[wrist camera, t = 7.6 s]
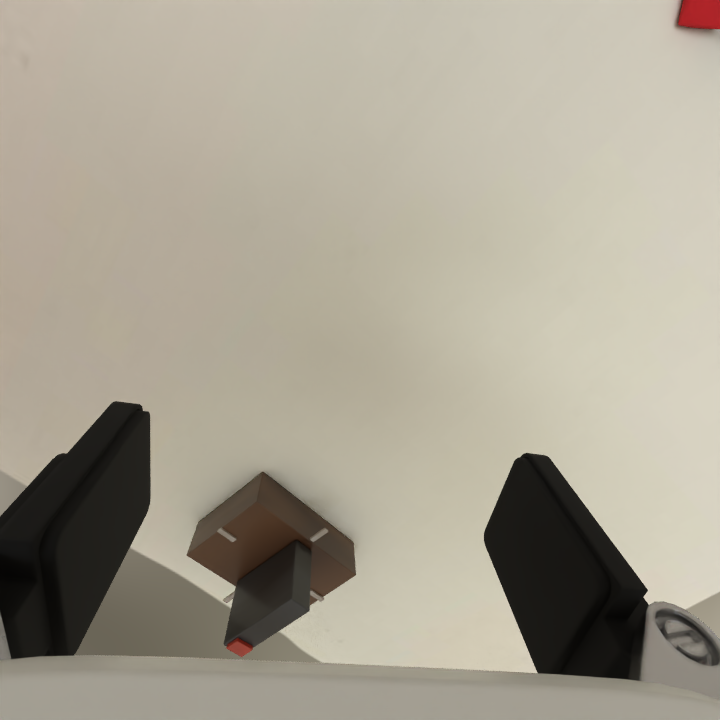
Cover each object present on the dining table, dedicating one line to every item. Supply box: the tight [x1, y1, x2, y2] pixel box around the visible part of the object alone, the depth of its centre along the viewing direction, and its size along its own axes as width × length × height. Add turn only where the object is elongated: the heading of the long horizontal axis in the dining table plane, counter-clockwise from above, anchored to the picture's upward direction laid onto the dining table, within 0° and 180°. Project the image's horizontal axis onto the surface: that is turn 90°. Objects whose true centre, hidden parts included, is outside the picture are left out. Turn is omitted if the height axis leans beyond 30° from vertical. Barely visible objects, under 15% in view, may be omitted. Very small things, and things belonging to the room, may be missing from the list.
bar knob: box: [224, 540, 312, 657], centre depth 29 cm, size 6×2×5 cm, turn 131°
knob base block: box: [187, 472, 356, 605], centre depth 32 cm, size 10×10×3 cm
